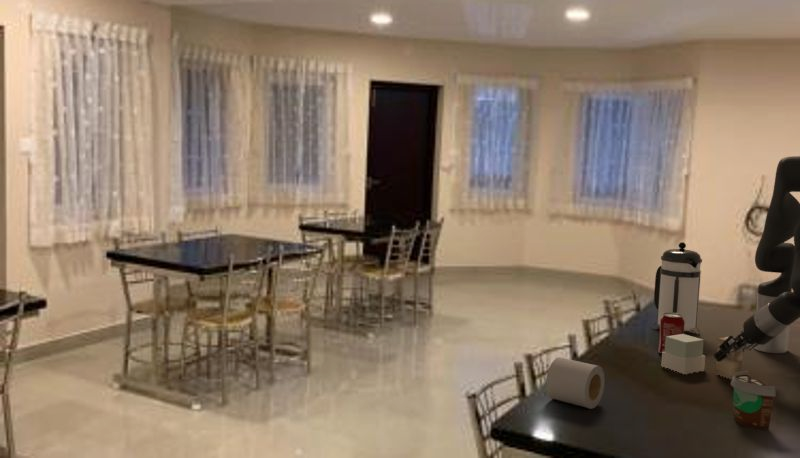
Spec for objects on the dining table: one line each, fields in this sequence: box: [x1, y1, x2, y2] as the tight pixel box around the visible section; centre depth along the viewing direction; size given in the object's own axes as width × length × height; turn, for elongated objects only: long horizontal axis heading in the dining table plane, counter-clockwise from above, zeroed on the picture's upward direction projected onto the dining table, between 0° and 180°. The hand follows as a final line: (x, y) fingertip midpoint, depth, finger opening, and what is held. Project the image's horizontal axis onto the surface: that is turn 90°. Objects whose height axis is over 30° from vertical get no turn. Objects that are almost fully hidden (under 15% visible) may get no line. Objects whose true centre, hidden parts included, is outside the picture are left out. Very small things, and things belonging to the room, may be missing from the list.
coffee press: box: [652, 241, 703, 335], centre depth 262 cm, size 17×16×30 cm
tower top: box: [665, 333, 705, 359], centre depth 218 cm, size 7×7×4 cm
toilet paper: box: [545, 356, 606, 410], centre depth 187 cm, size 10×10×10 cm
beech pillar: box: [715, 336, 744, 380], centre depth 213 cm, size 4×4×10 cm
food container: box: [730, 370, 776, 430], centre depth 177 cm, size 12×6×10 cm, turn 5°
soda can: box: [657, 313, 685, 354], centre depth 233 cm, size 7×7×12 cm
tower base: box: [660, 352, 706, 375], centre depth 218 cm, size 8×8×4 cm
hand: (723, 357), depth 214 cm, fingers open, 5 cm apart
